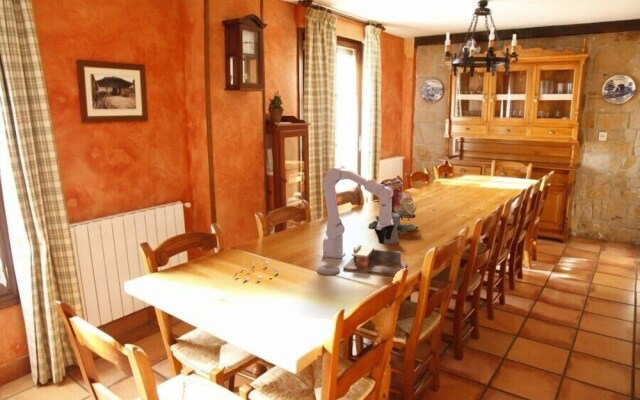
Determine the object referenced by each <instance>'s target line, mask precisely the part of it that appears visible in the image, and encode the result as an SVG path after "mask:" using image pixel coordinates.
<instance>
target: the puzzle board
mask: <svg viewBox="0 0 640 400" xmlns="http://www.w3.org/2000/svg"><path fill="white" fill-rule="evenodd" d="M356 247H357V246H356ZM356 247H353V250H354V249H355V248H356ZM401 256H402V252H401V251H400V250H399V251H397V250H386V249H377V248H374V250H373V251H372V252H371V253H370V255H369V266H368V268H366V267H357V256H353V257H352V258H351V259H350V260H349V261H348V262H347V263H346V264H345V265H344V267H342V268H343V272H344V271H346V272H353V273H361V274H371V275H378V276H379V275H381V276H388V277H390V276H391V277H395V276H394V275H395V274H396V273H397V272H398V271H400V270H401V269H404V268H406V269H407V267H408V262H401V261H402V260H401V259H402V257H401Z"/></svg>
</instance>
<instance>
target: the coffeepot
mask: <svg viewBox="0 0 640 400" xmlns="http://www.w3.org/2000/svg"><path fill="white" fill-rule="evenodd" d="M391 219H393V223H394V224H395V227H394V229H393V231H392V235H391V238H390V240H388V239H386V238H385V240H384V244H385V245H396V244H399V242H400V239H399V233H398V231H397V227H398V223H399V219H400V220H401V217H400V215H399V214H397V213H392V215H391Z"/></svg>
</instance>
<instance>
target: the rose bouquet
mask: <svg viewBox="0 0 640 400" xmlns="http://www.w3.org/2000/svg"><path fill="white" fill-rule="evenodd" d="M379 183H380V182H379ZM380 184H384V185H385V186H389V187H390V188H392V190H393V196H392V197H391V198H392V213H397V214H399V215H400V219H399V223H398V227H397V231H398V234H399V235H403V234H408V232H407V231H409V232H410V231H413V230H416V228H417V226H418V225H417V224H413V223H409V224H406V223H405V224H404V223H401V220H402V221H404V219H407V221H411V219H415V218H416V211H417V203H414V199H413V197H412V196H411V194H409V193H405V192H403V188H402V186H403V182H402V181H401V180H400V178H398V177H393V178H391V179H389V180H387V181H384V180H383V182H381V183H380ZM372 203H379V200H378V199H377V200H373V201H372ZM375 219H376V220H374V221H372V222H371V223H368V226H367V229H369V230H375V228H377V225H378V222H379V215H375ZM383 229H384V228H383Z"/></svg>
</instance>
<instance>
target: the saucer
mask: <svg viewBox="0 0 640 400" xmlns="http://www.w3.org/2000/svg"><path fill="white" fill-rule="evenodd" d="M316 270H317V271H316V272H317V273H318V274H319V273H320V274H319V275H322V274H323V276H334V275H337V274H339V273H340V272H341V269H340V267H338V266H337V265H332V264H331V265H329V264H326V265H321V266H318V268H317V269H316Z"/></svg>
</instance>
